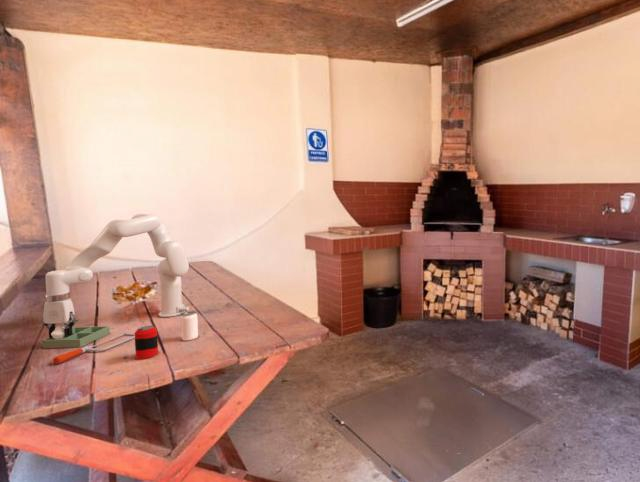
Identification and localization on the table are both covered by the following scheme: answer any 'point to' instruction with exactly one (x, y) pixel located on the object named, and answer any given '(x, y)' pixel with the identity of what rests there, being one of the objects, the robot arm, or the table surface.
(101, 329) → the tray
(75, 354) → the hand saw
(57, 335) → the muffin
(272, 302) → the table surface
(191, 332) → the can
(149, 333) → the soda can
